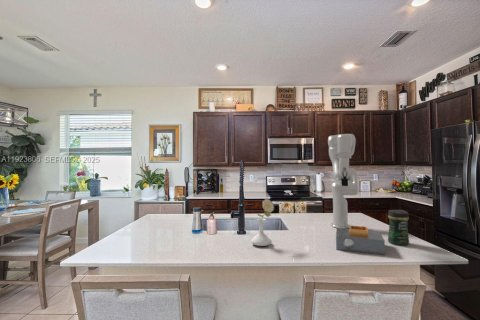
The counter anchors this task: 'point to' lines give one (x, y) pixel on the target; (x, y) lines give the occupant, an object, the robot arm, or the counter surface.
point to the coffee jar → (398, 227)
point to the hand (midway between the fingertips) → (344, 184)
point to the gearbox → (360, 240)
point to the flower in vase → (261, 237)
